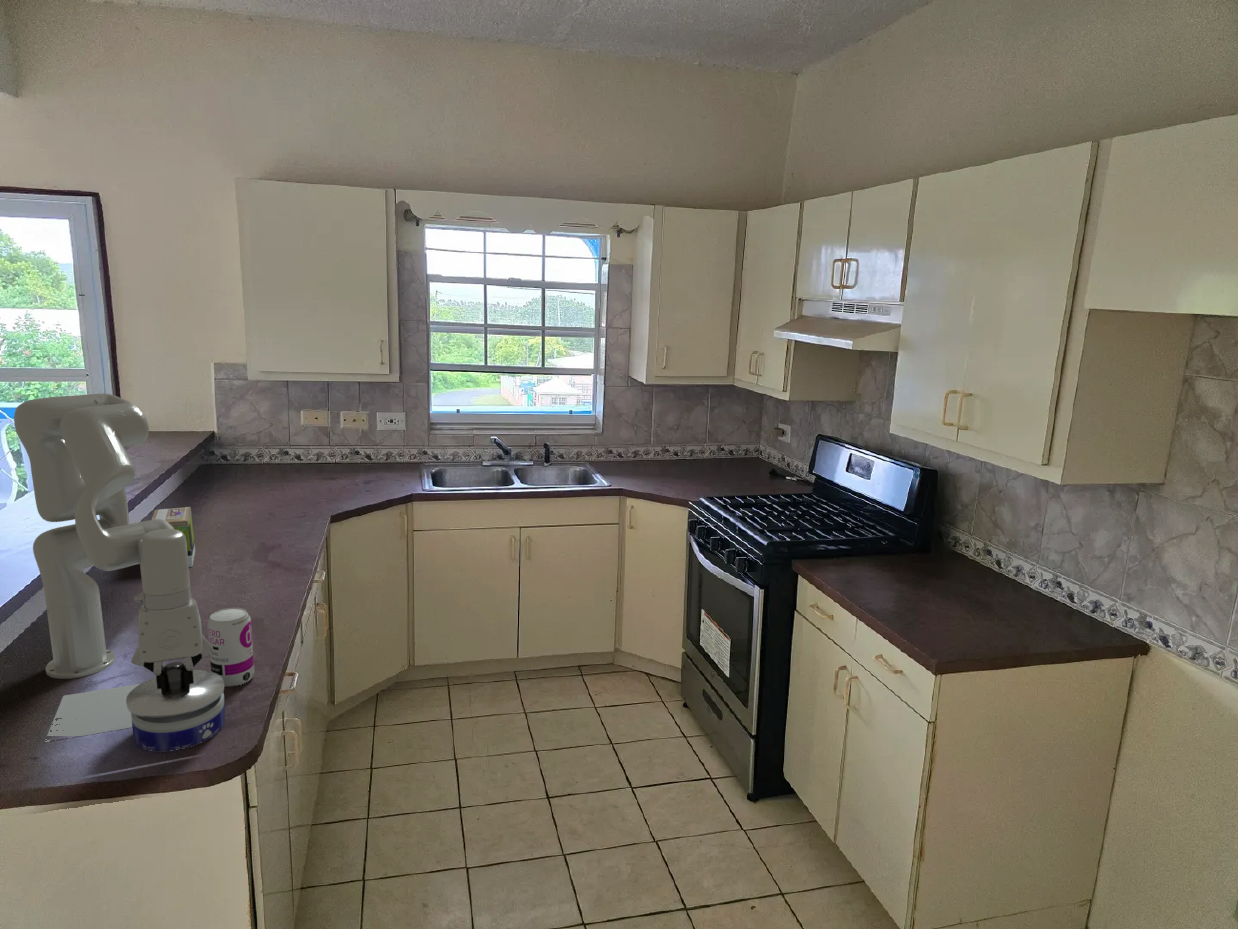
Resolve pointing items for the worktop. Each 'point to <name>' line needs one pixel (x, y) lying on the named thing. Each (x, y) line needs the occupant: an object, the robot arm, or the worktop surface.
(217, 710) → the dog bowl
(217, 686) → the lid
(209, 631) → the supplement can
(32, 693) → the worktop surface
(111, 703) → the mat
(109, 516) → the robot arm
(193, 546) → the tea box
